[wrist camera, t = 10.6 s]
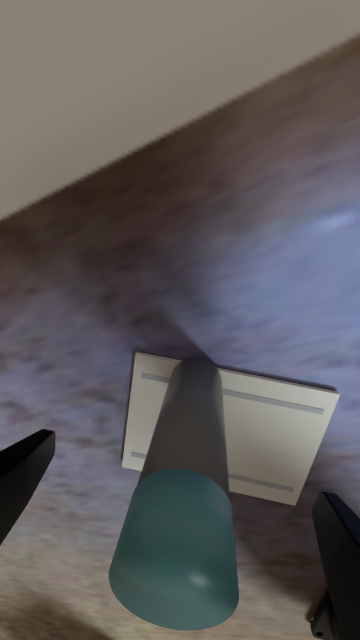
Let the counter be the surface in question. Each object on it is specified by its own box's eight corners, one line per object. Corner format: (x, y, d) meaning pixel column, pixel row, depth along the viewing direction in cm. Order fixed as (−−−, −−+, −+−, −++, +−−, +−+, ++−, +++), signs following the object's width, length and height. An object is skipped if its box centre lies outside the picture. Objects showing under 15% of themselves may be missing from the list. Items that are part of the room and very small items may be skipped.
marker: (216, 408, 15) (223, 643, 6) (166, 398, 15) (104, 611, 6) (227, 363, 14) (253, 561, 5) (174, 352, 14) (114, 527, 5)
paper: (293, 501, 16) (295, 506, 16) (123, 463, 17) (121, 467, 17) (337, 391, 14) (340, 395, 14) (136, 351, 15) (135, 354, 14)
